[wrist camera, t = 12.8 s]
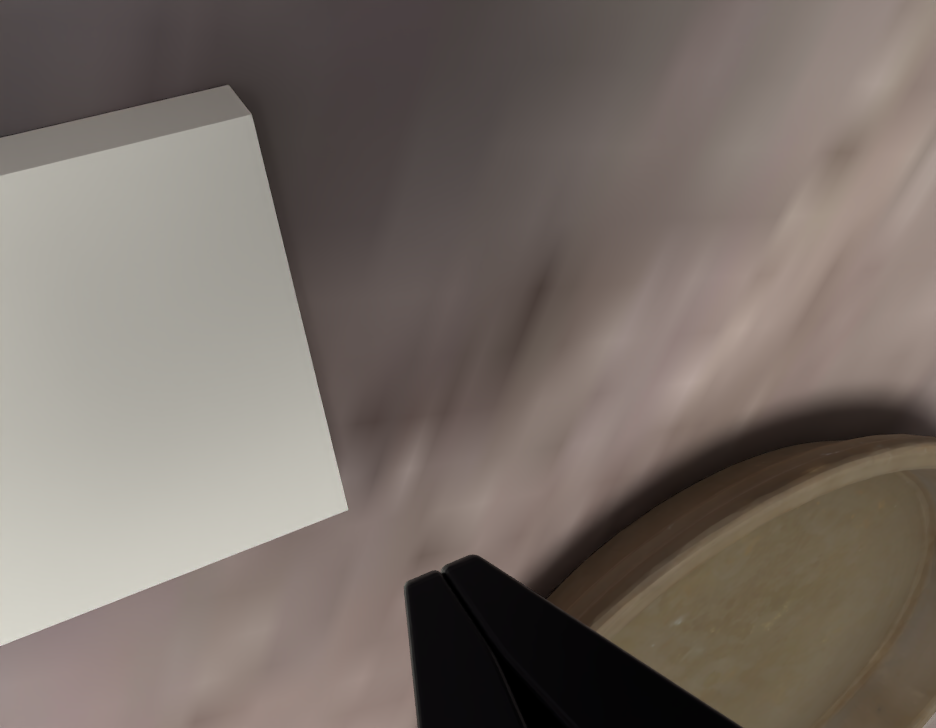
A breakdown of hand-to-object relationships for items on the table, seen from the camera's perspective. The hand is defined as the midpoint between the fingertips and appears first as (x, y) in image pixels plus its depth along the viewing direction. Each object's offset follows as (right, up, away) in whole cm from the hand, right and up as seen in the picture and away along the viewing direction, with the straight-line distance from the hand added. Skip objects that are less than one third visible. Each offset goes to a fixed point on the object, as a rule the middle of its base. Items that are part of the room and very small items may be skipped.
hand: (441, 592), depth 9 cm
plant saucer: (+11, -12, +33) cm, 37 cm away
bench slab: (-9, +2, +11) cm, 14 cm away
